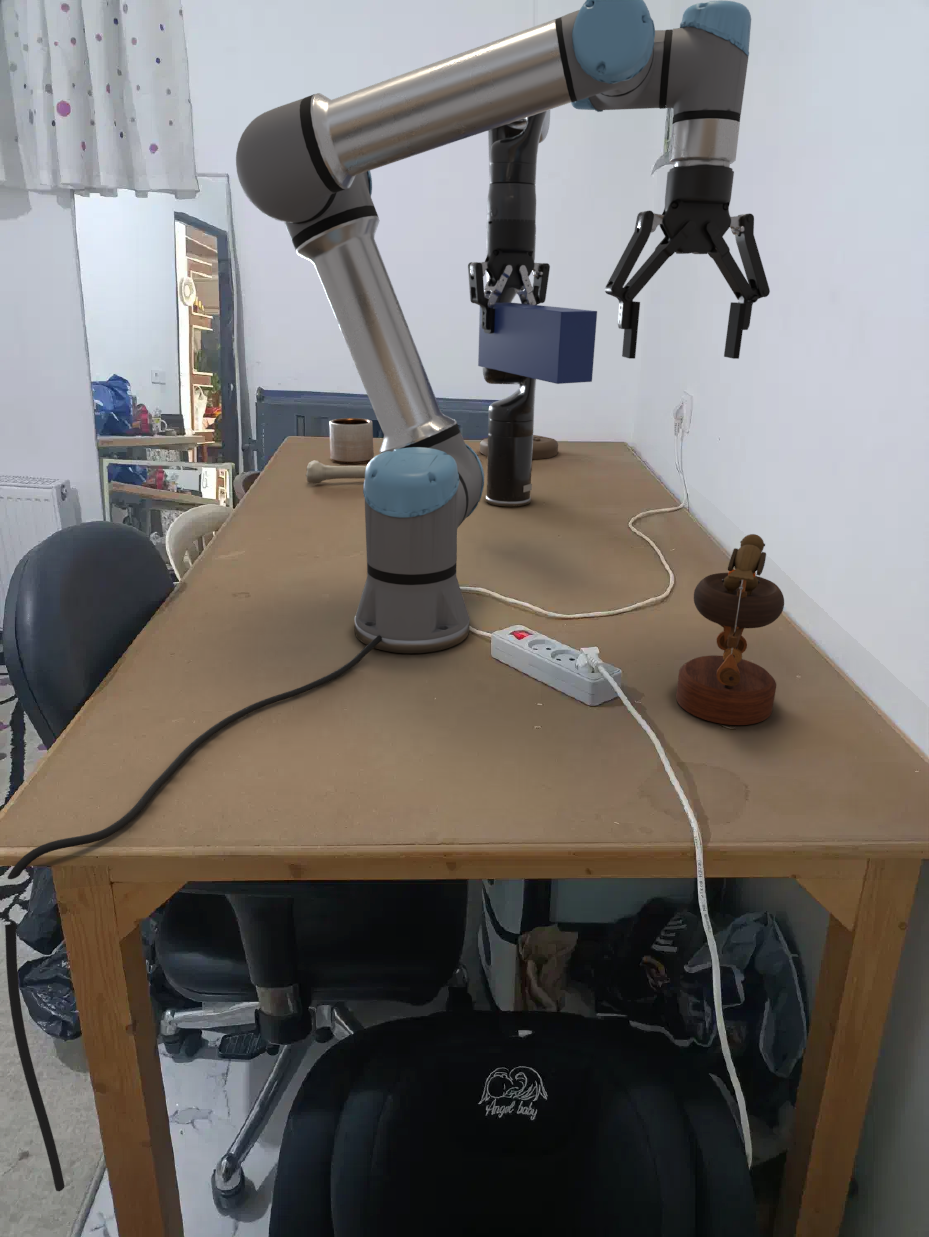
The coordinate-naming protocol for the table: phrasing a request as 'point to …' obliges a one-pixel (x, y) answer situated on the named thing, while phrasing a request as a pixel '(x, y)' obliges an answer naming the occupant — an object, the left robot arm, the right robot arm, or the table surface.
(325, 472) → the dog toy
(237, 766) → the table surface
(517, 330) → the box
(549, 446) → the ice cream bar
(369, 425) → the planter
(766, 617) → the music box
